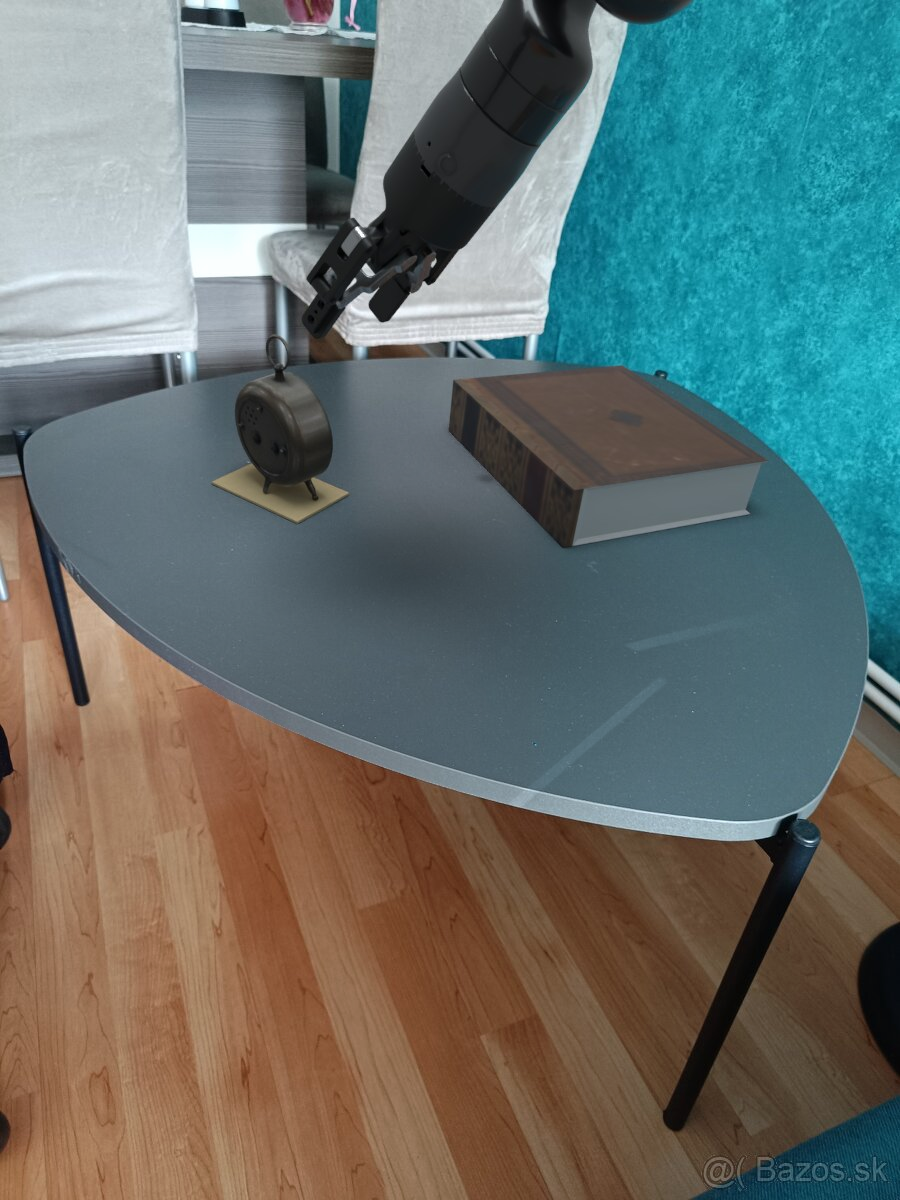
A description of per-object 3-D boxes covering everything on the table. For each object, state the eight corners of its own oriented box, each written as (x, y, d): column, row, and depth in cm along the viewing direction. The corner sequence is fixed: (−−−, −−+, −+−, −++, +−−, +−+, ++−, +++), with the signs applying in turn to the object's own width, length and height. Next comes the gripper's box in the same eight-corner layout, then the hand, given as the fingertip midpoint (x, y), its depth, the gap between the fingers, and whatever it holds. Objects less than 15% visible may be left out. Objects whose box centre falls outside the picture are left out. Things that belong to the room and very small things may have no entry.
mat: (297, 524, 82) (297, 521, 82) (211, 484, 87) (211, 481, 87) (349, 495, 88) (349, 492, 88) (265, 459, 93) (265, 456, 93)
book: (562, 547, 83) (574, 490, 79) (448, 430, 103) (453, 379, 99) (750, 513, 92) (768, 460, 89) (612, 412, 112) (622, 365, 109)
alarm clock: (335, 500, 86) (337, 346, 77) (294, 517, 83) (290, 358, 73) (270, 461, 92) (264, 314, 82) (229, 475, 88) (217, 323, 79)
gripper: (480, 122, 63) (369, 277, 74) (365, 115, 52) (256, 297, 63) (541, 199, 63) (421, 343, 74) (438, 208, 52) (316, 375, 63)
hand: (345, 322), depth 68 cm, fingers open, 8 cm apart
